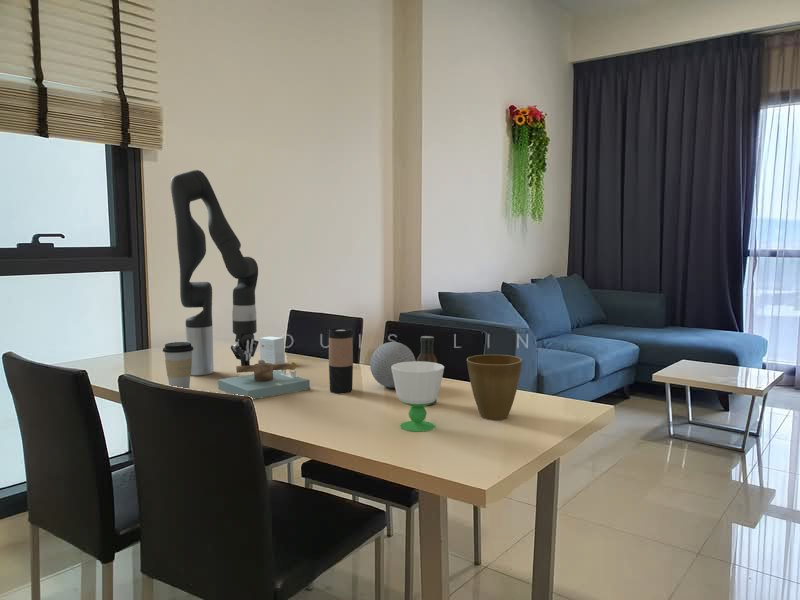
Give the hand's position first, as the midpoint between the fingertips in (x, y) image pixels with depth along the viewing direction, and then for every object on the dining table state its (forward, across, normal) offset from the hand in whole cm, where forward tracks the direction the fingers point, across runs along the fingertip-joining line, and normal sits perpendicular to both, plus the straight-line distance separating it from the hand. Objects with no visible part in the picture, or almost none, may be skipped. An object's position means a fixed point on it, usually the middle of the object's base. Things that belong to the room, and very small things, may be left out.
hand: (245, 371), depth 201 cm
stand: (+6, +1, -6) cm, 8 cm away
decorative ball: (+6, +17, -45) cm, 48 cm away
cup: (+6, -22, -66) cm, 69 cm away
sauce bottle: (+6, +1, -61) cm, 62 cm away
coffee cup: (+6, -9, +19) cm, 22 cm away
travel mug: (+6, +7, -31) cm, 32 cm away
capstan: (+2, +2, -7) cm, 8 cm away
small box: (+6, +38, +12) cm, 40 cm away
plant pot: (+5, -6, -82) cm, 83 cm away
